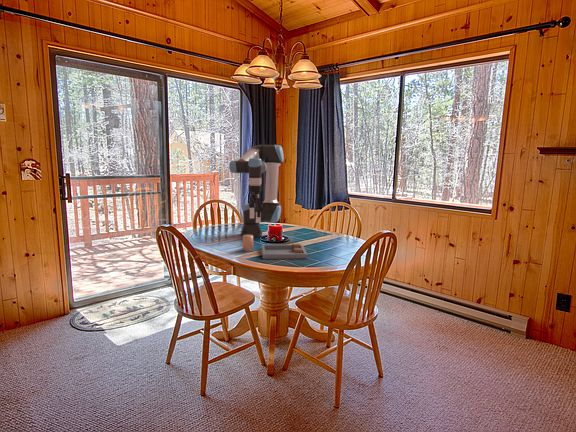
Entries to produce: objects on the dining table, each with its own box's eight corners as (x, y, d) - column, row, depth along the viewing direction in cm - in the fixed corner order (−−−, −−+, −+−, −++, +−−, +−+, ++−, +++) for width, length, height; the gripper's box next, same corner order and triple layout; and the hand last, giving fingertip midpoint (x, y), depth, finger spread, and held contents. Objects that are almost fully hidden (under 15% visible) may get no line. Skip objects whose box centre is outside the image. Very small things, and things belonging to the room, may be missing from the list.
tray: (261, 249, 223) (261, 244, 223) (302, 249, 226) (302, 244, 225) (262, 259, 203) (262, 254, 202) (307, 259, 205) (307, 254, 205)
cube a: (291, 250, 221) (292, 243, 221) (298, 249, 222) (298, 243, 222) (293, 251, 217) (293, 245, 217) (300, 251, 219) (300, 245, 218)
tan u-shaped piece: (242, 248, 225) (242, 234, 223) (253, 248, 226) (253, 234, 224) (242, 251, 219) (242, 237, 217) (253, 251, 219) (253, 236, 218)
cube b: (295, 254, 212) (295, 247, 212) (301, 254, 212) (302, 248, 211) (294, 256, 208) (294, 249, 208) (301, 256, 208) (301, 250, 207)
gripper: (243, 183, 223) (243, 216, 227) (254, 187, 200) (254, 225, 204) (255, 182, 226) (255, 216, 230) (267, 187, 203) (267, 224, 207)
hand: (255, 220), depth 217 cm, fingers open, 13 cm apart
